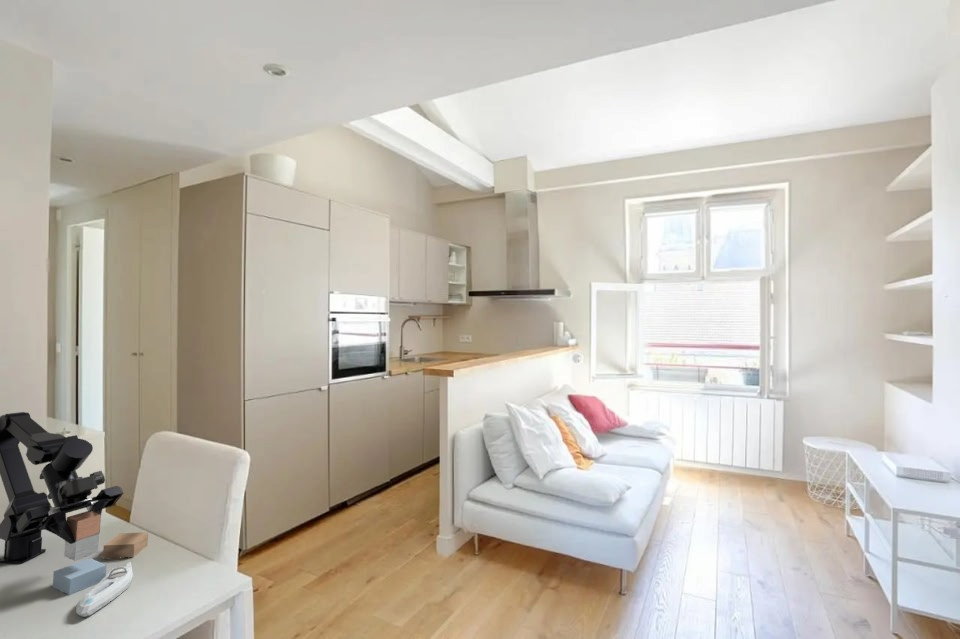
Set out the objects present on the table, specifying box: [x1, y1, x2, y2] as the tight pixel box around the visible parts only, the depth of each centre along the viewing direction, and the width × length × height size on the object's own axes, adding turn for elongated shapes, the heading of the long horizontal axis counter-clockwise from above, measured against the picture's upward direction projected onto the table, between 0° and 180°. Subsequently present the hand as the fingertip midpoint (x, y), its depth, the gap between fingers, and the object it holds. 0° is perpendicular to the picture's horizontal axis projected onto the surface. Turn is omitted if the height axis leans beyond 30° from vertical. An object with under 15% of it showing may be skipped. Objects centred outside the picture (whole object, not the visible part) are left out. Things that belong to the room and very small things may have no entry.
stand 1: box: [52, 557, 107, 596], centre depth 106 cm, size 7×7×4 cm
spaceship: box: [75, 561, 134, 618], centre depth 104 cm, size 23×7×4 cm, turn 18°
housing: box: [63, 510, 102, 562], centre depth 106 cm, size 4×4×9 cm
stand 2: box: [102, 531, 149, 559], centre depth 121 cm, size 7×7×4 cm
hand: (85, 538), depth 105 cm, fingers closed on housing, 4 cm apart
